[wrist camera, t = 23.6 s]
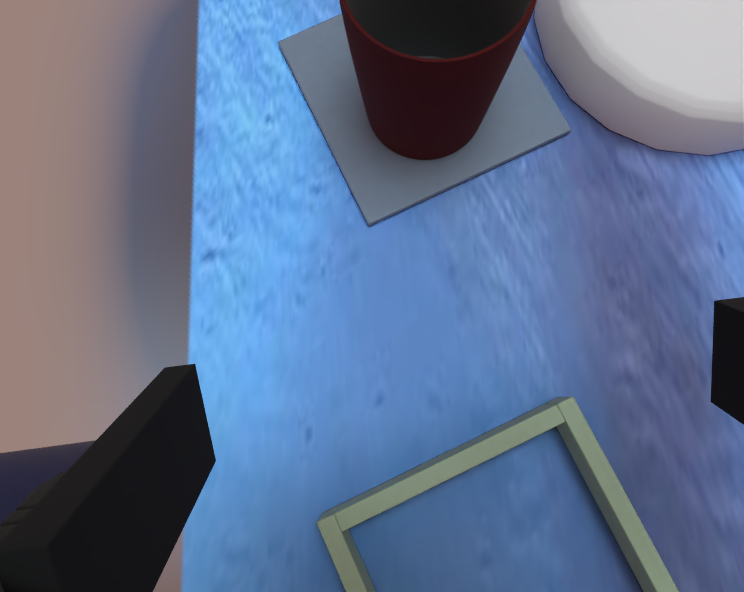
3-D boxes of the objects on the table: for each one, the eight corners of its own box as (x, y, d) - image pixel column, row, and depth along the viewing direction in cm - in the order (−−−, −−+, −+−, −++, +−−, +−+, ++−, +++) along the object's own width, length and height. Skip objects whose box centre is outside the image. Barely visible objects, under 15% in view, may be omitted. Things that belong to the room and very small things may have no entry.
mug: (328, 22, 36) (299, -142, 25) (457, -12, 36) (485, -191, 25) (375, 187, 33) (365, 85, 23) (513, 150, 33) (570, 31, 23)
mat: (368, 226, 33) (368, 224, 33) (279, 46, 36) (277, 41, 36) (569, 133, 34) (571, 129, 34) (467, -38, 37) (468, -44, 36)
